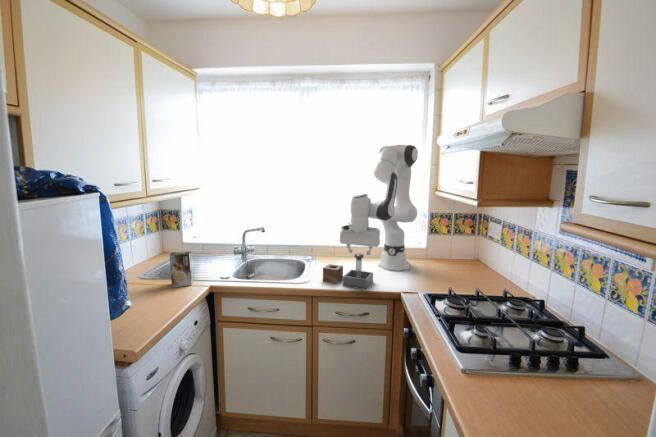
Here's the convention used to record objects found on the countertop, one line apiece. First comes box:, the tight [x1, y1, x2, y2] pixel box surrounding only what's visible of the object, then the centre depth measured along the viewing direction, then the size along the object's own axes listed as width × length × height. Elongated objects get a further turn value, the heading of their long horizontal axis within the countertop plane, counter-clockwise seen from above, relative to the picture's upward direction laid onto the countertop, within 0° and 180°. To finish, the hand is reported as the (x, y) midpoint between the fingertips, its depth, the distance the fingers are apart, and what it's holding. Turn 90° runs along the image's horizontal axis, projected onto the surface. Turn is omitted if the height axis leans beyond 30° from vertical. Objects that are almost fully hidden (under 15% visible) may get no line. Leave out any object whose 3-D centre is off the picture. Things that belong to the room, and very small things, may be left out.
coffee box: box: [169, 251, 194, 288], centre depth 155 cm, size 9×6×16 cm
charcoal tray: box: [342, 269, 374, 290], centre depth 159 cm, size 12×12×5 cm
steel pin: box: [354, 253, 365, 278], centre depth 158 cm, size 5×5×14 cm
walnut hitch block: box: [322, 263, 344, 284], centre depth 165 cm, size 8×8×7 cm
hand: (359, 253), depth 158 cm, fingers open, 8 cm apart
